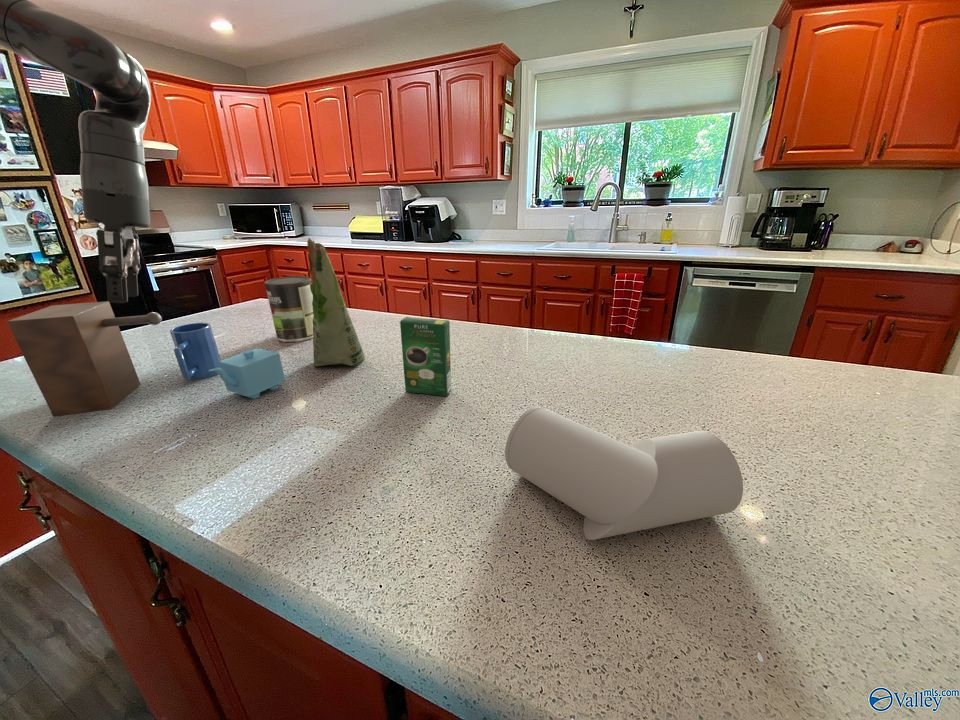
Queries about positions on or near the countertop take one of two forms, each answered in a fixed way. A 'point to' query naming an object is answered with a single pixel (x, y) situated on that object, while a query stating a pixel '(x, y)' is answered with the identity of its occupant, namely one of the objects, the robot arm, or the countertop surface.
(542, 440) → the bent grey cylinder
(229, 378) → the teapot
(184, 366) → the blue mug
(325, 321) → the pouch
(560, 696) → the countertop surface
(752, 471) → the countertop surface
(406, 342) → the coffee box
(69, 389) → the peg box
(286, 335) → the coffee can
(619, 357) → the countertop surface
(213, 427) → the countertop surface
